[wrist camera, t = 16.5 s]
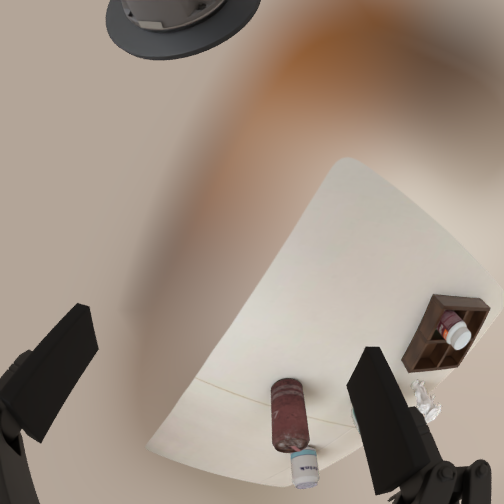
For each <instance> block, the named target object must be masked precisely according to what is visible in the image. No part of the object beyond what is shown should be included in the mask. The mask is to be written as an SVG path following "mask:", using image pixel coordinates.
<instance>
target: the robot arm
mask: <svg viewBox="0 0 504 504" xmlns="http://www.w3.org/2000/svg"><path fill="white" fill-rule="evenodd" d="M121 1H122V5H123V9H124V12H125V14H126V16H127V17H128V19H129V20H130V21H131V22H132V23H134V24H135V25H136V26H137V27H139V28H140V29H143V30H145V31H149V32H154V33H169V32H175V31H180V30H184V29H187V28H190V27H193V26H195V25H197V24H200V23H201V22H203V21H205V20H207V19H209V18H210V17H212V16H213V15H214V14H216V13H217V12H218V11H219V10H220V9H221V8H222V7H223V6H224V5H225V4H226V2H227V1H228V0H121ZM97 351H98V345H97V340H96V336H95V331H94V327H93V322H92V317H91V312H90V308H89V306H86V305H82V304H79V303H77V304H76V305H75V306H74V307H73V308H72V309H71V310H70V311H69V312H68V313H67V314H66V315H65V316H64V317H63V318H62V320H60V321H59V323H58V324H57V325H56V326H55V327H54V328H53V329H52V330H51V331H50V332H49V333H48V334H47V336H46V337H45V338H44V339H43V340H42V341H41V342H40V343H39V345H38V346H37V347H36V348H35V349H34V350H33V351H31V350H27V351H26V352H24V353H22V354H21V355H19V357H18V358H17V359H16V360H15V361H14V364H12V365H11V366H10V367H9V370H7V371H6V372H5V373H4V374H3V376H2V377H1V378H0V504H40V503H39V500H38V497H37V494H36V491H35V488H34V485H33V482H32V478H31V474H30V471H29V467H28V463H27V458H26V454H25V449H24V444H23V439H22V435H21V433H20V431H21V429H23V430H24V431H25V432H26V434H27V435H28V436H30V437H31V438H33V439H34V440H36V441H37V442H39V443H42V441H43V439H44V437H45V435H46V433H47V432H48V430H49V428H50V426H51V425H52V423H53V421H54V419H55V418H56V416H57V414H58V412H59V411H60V409H61V407H62V406H63V404H64V402H65V401H66V399H67V397H68V396H69V394H70V393H71V391H72V389H73V388H74V386H75V385H76V383H77V381H78V380H79V378H80V377H81V375H82V374H83V372H84V371H85V369H86V367H87V366H88V364H89V363H90V361H91V360H92V358H93V357H94V355H95V354H96V352H97ZM346 386H347V389H348V392H349V396H350V399H351V403H352V406H353V409H354V413H355V416H356V420H357V424H358V427H359V431H360V435H361V438H362V442H363V446H364V450H365V453H366V457H367V461H368V465H369V469H370V473H371V477H372V482H373V486H374V490H375V495H380V494H384V493H388V492H391V491H393V490H394V489H396V488H397V487H399V486H400V490H401V491H399V492H398V493H397V494H395V495H393V496H392V497H390V499H389V500H388V501H389V502H390V501H392V500H393V499H395V500H394V502H393V503H392V504H459V500H461V499H462V501H461V504H491V468H490V465H489V464H488V462H486V461H485V460H477V461H475V462H474V463H473V464H471V465H470V466H465V467H455V466H454V465H453V464H452V463H451V462H449V461H443V459H442V458H441V455H440V453H439V451H438V448H437V446H436V444H435V441H434V439H433V437H432V434H431V433H430V430H429V427H428V425H426V424H427V423H426V421H425V418H424V416H423V414H422V413H421V412H420V411H419V410H418V409H417V408H416V407H415V406H414V407H408V405H407V403H406V401H405V399H404V396H403V394H402V392H401V390H400V388H399V386H398V384H397V382H396V379H395V377H394V375H393V373H392V371H391V369H390V367H389V365H388V363H387V361H386V359H385V357H384V355H383V353H382V351H381V349H380V347H365V349H364V351H363V354H362V356H361V358H360V360H359V362H358V364H357V366H356V368H355V370H354V372H353V374H352V376H351V378H350V380H349V381H348V383H347V385H346Z"/></svg>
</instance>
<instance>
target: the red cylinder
mask: <svg viewBox="0 0 504 504" xmlns="http://www.w3.org/2000/svg"><path fill="white" fill-rule="evenodd" d="M271 412H272V444H273V446H274V447H275V449H276V450H277V451H279V452H283V453H293V452H300V451H302V450H303V449H305V448H306V447H307V446H308V443H309V441H310V438H309V431H308V423H307V416H306V409H305V401H304V394H303V388H302V385H301V383H300V382H298V381H297V380H295V379H291V378H286V379H281V380H279V381H277V382H276V383H275V384H274V385H273V386H272V387H271Z"/></svg>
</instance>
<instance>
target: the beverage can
mask: <svg viewBox="0 0 504 504" xmlns="http://www.w3.org/2000/svg"><path fill="white" fill-rule="evenodd" d="M291 469H292V482H293V484H294V485H295V487H296V488H298V489H306V488H311V487H314V486H316V485H317V482H318V480H319V470H318V463H317V455H316V450H315V449H314V448H311V447H309V446H307V447H306V448H305V449H303V450H302V451H300V452H293V453H291Z"/></svg>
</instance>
